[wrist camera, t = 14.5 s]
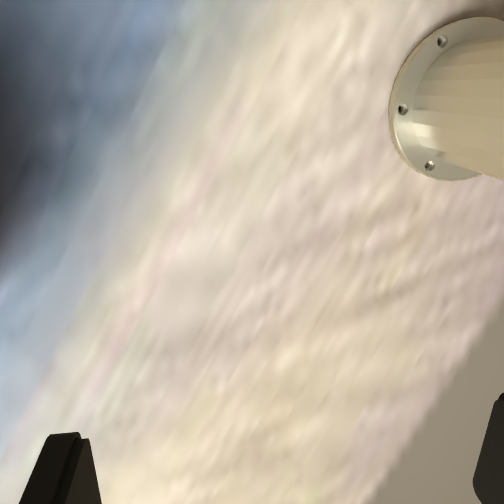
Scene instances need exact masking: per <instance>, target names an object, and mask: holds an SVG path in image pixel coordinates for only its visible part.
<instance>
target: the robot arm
mask: <svg viewBox="0 0 504 504" xmlns="http://www.w3.org/2000/svg"><path fill="white" fill-rule="evenodd" d="M437 40H439V44H437ZM399 106H400V107H401V110H400V111H399V112H398V108H399ZM389 124H390V131H391V135H392V139H393V142H394V144H395V146H396V148H397V150H398V152H399V154H400V155H401V157H402V158H403V159H404V160H405V162H406V163H407V164H408V165H410V166H411V167H412V168H413V169H415V170H416V171H417V172H420V173H422V174H424V175H426V176H428V177H431V178H434V179H437V180H444V181H460V180H466V179H470V178H473V177H477V176H479V175H481V174H485V175H488V176H491V177H494V178H498V179H501V180H504V21H503V20H500V19H497V18H494V17H474V18H468V19H463V20H459V21H456V22H452V23H450V24H448V25H446V26H444V27H442V28H440V29H438V30H436V31H435V32H433V33H432V34H431V35H429V36H428V37H427V38H425V39H424V40H423V41H422V42H421V43H420V44H419V45H418V46H417V47H416V48H415V49H414V50H413V52H412V53H411V54H410V55H409V57H408V58H407V60H406V61H405V63H404V64H403V66H402V68H401V70H400V72H399V74H398V76H397V78H396V81H395V83H394V87H393V90H392V94H391V98H390V106H389ZM426 163H427V165H426ZM425 165H426V166H425ZM473 487H474V491H475V493H476V495H477V497H478V498H479V500H480V501H481V503H482V504H504V393H502V394H501V395H500V396H499V399H498V400H496V401H495V403H494V405H493V409H492V413H491V416H490V420H489V423H488V427H487V430H486V434H485V438H484V441H483V445H482V449H481V453H480V456H479V459H478V463H477V467H476V470H475V473H474V477H473ZM19 504H102V502H101V497H100V492H99V487H98V482H97V476H96V471H95V466H94V461H93V456H92V451H91V445H90V441H89V439H88V438H86V439H81V436H80V433H79V432H72V433H61V434H50V435H49V436H48V437H47V439H46V441H45V443H44V446H43V448H42V450H41V453H40V455H39V457H38V460H37V462H36V464H35V467H34V469H33V471H32V474H31V476H30V478H29V481H28V483H27V485H26V488H25V490H24V492H23V495H22V497H21V500H20V502H19Z"/></svg>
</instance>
